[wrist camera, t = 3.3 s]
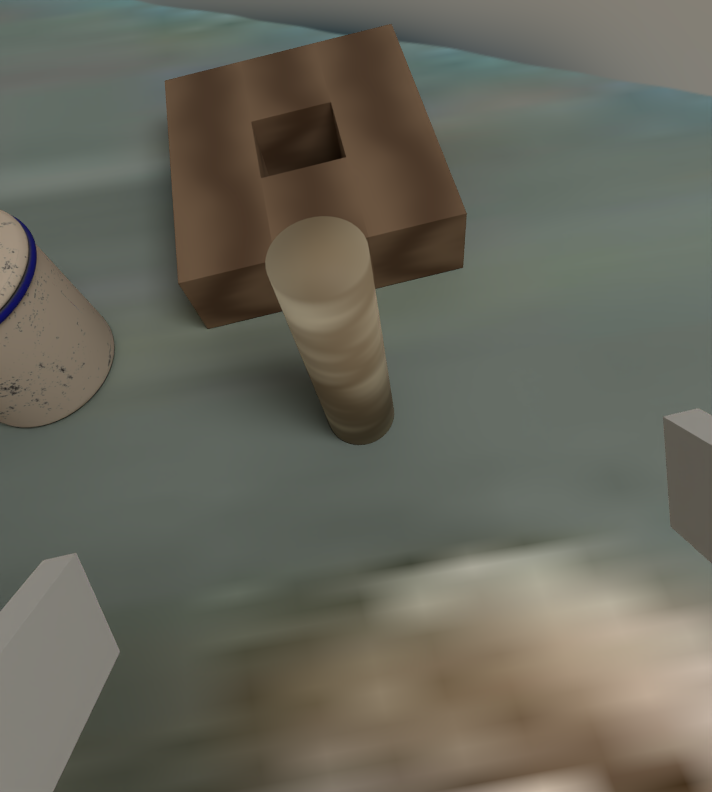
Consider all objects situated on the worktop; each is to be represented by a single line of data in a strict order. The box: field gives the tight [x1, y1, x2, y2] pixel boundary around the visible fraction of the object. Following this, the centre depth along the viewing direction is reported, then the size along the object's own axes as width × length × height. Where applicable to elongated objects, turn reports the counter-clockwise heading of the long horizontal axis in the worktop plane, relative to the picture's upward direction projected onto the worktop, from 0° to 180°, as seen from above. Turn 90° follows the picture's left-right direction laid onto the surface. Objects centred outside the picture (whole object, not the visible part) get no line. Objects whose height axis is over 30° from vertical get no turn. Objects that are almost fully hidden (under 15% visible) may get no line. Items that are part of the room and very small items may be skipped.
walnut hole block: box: [165, 24, 467, 329], centre depth 37 cm, size 16×18×4 cm
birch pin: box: [265, 216, 394, 445], centre depth 25 cm, size 4×4×13 cm
